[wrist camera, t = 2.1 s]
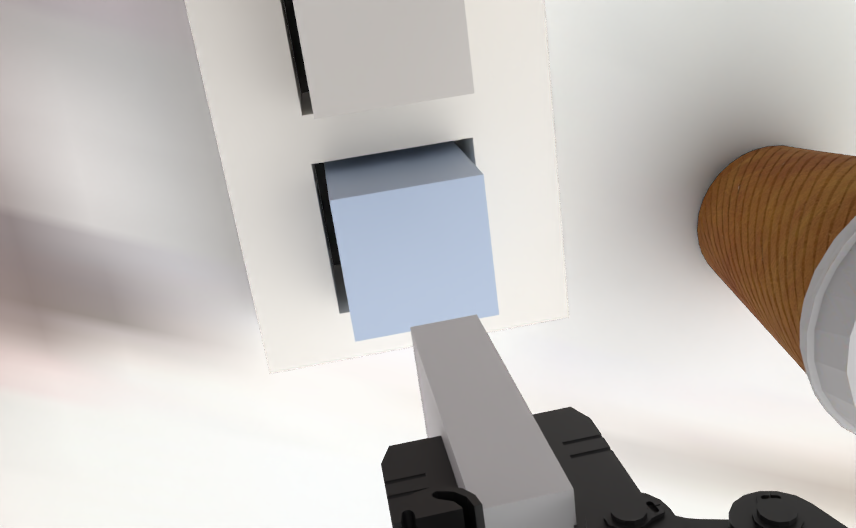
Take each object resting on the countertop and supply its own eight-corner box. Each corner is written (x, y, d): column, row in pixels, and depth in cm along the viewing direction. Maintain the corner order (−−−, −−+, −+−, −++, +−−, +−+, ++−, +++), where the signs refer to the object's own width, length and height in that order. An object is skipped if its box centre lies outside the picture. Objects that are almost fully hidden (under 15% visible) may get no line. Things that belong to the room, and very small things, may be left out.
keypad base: (471, -386, 26) (508, -462, 22) (532, 270, 35) (569, 317, 30) (125, -350, 25) (87, -422, 21) (273, 317, 33) (269, 374, 29)
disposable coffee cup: (630, 295, 36) (781, 444, 24) (709, 81, 33) (921, 138, 22) (813, 334, 38) (1029, 488, 27) (902, 136, 35) (1185, 215, 24)
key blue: (448, 135, 30) (483, 174, 24) (463, 253, 31) (499, 314, 26) (322, 156, 29) (329, 200, 24) (344, 274, 31) (355, 341, 25)
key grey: (422, -70, 27) (455, -81, 22) (440, 69, 29) (474, 93, 23) (285, -51, 27) (282, -56, 21) (310, 89, 28) (314, 118, 23)
